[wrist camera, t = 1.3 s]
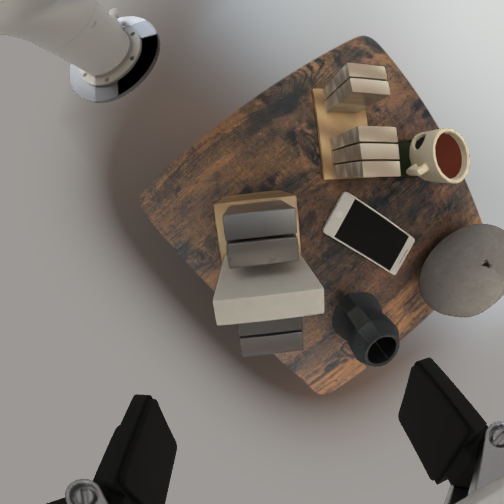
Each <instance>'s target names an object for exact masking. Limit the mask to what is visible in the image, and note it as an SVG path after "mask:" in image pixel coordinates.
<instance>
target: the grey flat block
mask: <svg viewBox="0 0 504 504" xmlns="http://www.w3.org/2000/svg"><path fill="white" fill-rule="evenodd" d="M213 306H214V311H215V317H216V322H217V325H229V324H240V323H250V322H260V321H269V320H278V319H286V318H294V317H301V316H309V315H316V314H323V313H324V288H323V286H322V285H321V283H320V282H319V280H318V279H317V278H316V276H315V275H314V273H313V272H312V270H311V269H310V267H309V266H308V264H307V263H306V262H305V260H304V259H303V257H302V256H301V254H300V253H299V261H294V262H286V263H277V264H268V265H259V266H249V267H240V268H231V269H230V268H229V264H228V257H227V255H225V258H224V262H223V265H222V269H221V273H220V276H219V280H218V283H217V287H216V291H215V294H214V298H213Z"/></svg>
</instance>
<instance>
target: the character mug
mask: <svg viewBox="0 0 504 504" xmlns="http://www.w3.org/2000/svg"><path fill="white" fill-rule="evenodd" d="M405 140H406V139H405ZM407 141H409V142H397V143H393V144H398V148H399V158H400V159H398V160H390V161H400V172H401V176H402V177H417V176H419V177H420V178H422V179H423V180H425V181H431V182H441V183H453V184H454V183H458V182H461V181H463V179H464V178H465V177H466V175H467V173H468V170H469V165H470V155H469V151H468V147H467V145H466V143H465V141H464V140H463V138H462V137H461V136H460V135H459V134H458V133H457V132H456V131H454V130H452V129H450V128H444V129H437V130H432V131H428V132H422V133H419V134H417V135H416V136H415V137H414V138H413V139H412V140H407Z"/></svg>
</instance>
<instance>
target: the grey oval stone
mask: <svg viewBox="0 0 504 504" xmlns="http://www.w3.org/2000/svg"><path fill="white" fill-rule="evenodd" d="M419 289H420V293H421V295H422V297H423V299H424V301H425V302H426V303H427V304H428V306H430V307H431V308H432V309H433V310H435V311H437V312H439V313H442V314H445V315H449V316H454V317H471V316H475V315H478V314H480V313H482V312H483V311H485V310H487V309H488V308H490V307H491V306H492V305H493V304H494V303H496V302H497V301H498V300H499V299H500V298H501V297H502V295H504V230H503V229H501V228H499V227H496V226H493V225H488V224H473V225H469V226H466V227H463V228H461V229H458V230H456V231H455V232H453V233H451V234H450V235H448V236H447V237H445V238H444V239H443V240H442V241H441V242H439V243H438V244H437V245H436V247H435V248H434V249H433V250H432V251H431V253H430V254H429V255H428V257H427V259H426V260H425V262H424V264H423V267H422V269H421V273H420V277H419Z"/></svg>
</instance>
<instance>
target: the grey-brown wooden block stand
mask: <svg viewBox="0 0 504 504" xmlns="http://www.w3.org/2000/svg"><path fill="white" fill-rule="evenodd" d="M386 80H387V75H386V71H385V67H381V66H373V65H365V64H355V63H346V64H345V65H344V67H343V68H342V69H341V70H340V71H339V72H338V73H337V74H336V75H335V76H334V78H333V79H332V80H331V81H330V82H329V83H328V84H327V85H326V87H325V88H324V89H313V90H312V96H313V102H314V109H315V116H316V124H317V132H318V140H319V148H320V157H321V167H322V178H323V180H332V179H351V178H373V177H400V176H401V172H400V161H387V160H398V159H400V158H399V148H398V144H392V143H397V142H398V140H397V132H396V127H381V126H368V123H367V117H366V110H365V108H367V107H369V106H371V105H373V104H375V103H377V102H378V101H380V100H382V99H384V98H386V97H388V96H390V95H391V94H390V89H389V84H388V82H387V81H386Z"/></svg>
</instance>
